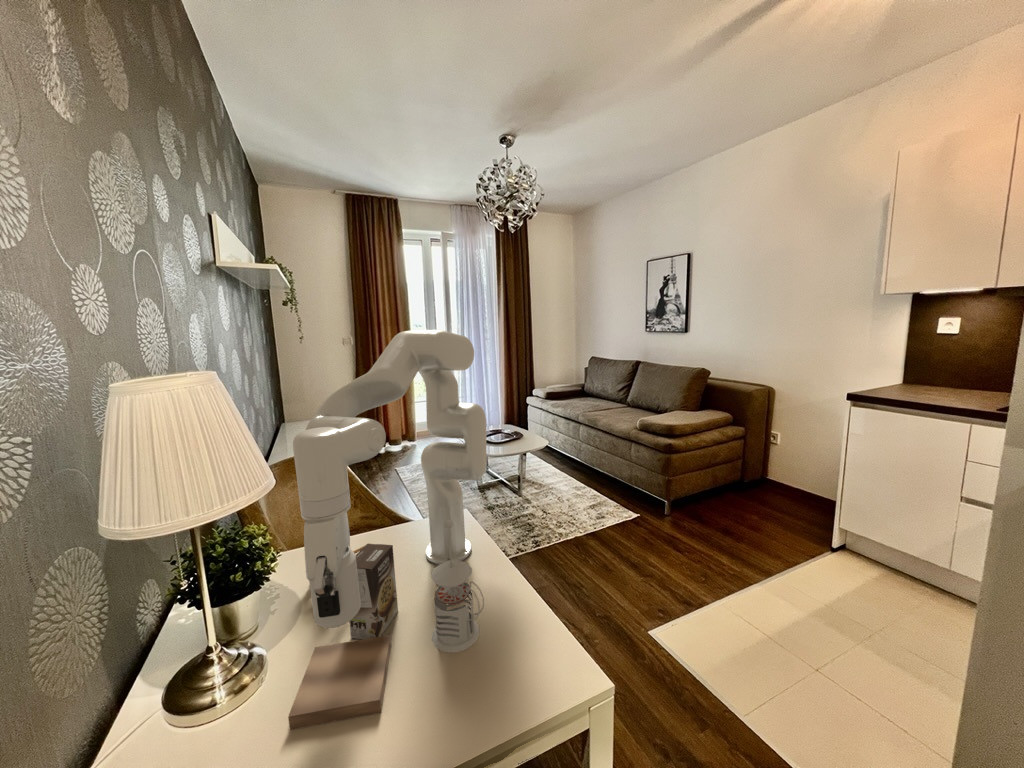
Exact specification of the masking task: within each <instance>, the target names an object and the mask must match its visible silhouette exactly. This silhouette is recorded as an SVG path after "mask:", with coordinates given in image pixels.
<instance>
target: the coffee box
mask: <svg viewBox="0 0 1024 768" xmlns="http://www.w3.org/2000/svg"><path fill="white" fill-rule="evenodd" d="M364 546H365V545H364ZM362 547H363V546H362ZM355 555H356V564H357V573H358V583H359V593H360V603H361V605H360V610H359V611H358V613H357V614H356V615H355V616H354V618H353V619H352V620H351V621H349V622H348V623H349V630H350V631H349V632H350V633H349V634H350V638H352V639H357V640H363V639H369V638H376V637H382V636H383V634H384V633H385V631H386V630H387V628H388V626H389V625H390V624H391V622H392V621H393V619H394V617H395V616H396V615H397V614H398V612H399V606H398V605H399V604H398V594H397V582H396V581H397V580H396V570H395V560H394V559H395V557H394V556H395V555H394V548H393V545H392V544H383V543H382V544H379V543H370V544H369V543H367V544H366V546H365V547H363V548H362V549H361V550H360V551H359V552H357V553H355Z"/></svg>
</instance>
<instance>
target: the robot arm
mask: <svg viewBox="0 0 1024 768" xmlns="http://www.w3.org/2000/svg"><path fill="white" fill-rule="evenodd" d="M474 358H475V349H474V346H473V343H472V341H471V340H470V339H469V338H468V337H466V336H465V335H461V334H459V333H458V334H457V333H453V332H449V331H445V330H439V329H424V330H423V329H421V330H420V329H419V330H405V331H401V332H398V333H397V334H396V335H394V336H393V338H392V339H391V340H390V342H389V343H388V344H387V346H386V347H385V348H384V350H383V351H382V353H381V354H380V355H379V357H378V358H377V360H376V361H375V362H374V364H373V365H372V367H370V369H369V370H368V371H367V372H366V373H365V374H363V375H361V376H359V377H357V378H355V379H354V380H351V382H349V383H347V384H345V385H344V386H342V387H340V388H339V389H337V390H336V391H334V392H333V393H331V394H330V395H328V397H327V398H326V399H325V400H324V401H323V402H322V404H321V405H320V406H319V407H318V408H317V410H316V411H315V412H314V414H313V415H312V417H311V418H310V419H309V422H308V423H307V425H306V427H305V430H303V431H300V432H298V433H297V434H296V435H295V436H294V438H293V440H292V449H293V460H294V466H295V473H296V474H295V475H296V481H297V482H296V483H297V492H298V501H299V508H300V515H301V519H302V520H304V527H303V544H304V546H303V547H304V550H303V551H304V561H305V562H304V564H305V575H306V577H305V578H306V579H307V580H308V581H311V580H313V579H314V584H313V590H314V591H315V593H316V598H317V605H318V613H319V617H320V618H323V617H330V616H336V615H339V614H340V602H339V593H338V591H336V576H337V575H338V574H339V573H340V570H341V566H342V558H343V557H344V556H345V554H346V551H347V546H350V547H351V536H350V535H351V533H350V526H349V525H350V524H349V517H348V511H350V509H351V506H352V505H351V504H352V503H351V497H350V496H351V494H350V484H349V475H348V467H349V466H351V465H353V464H356V463H360V462H364V461H369V460H371V459H372V458H374V457H375V456H376V457H377V455H378V454H379V453H380V452H381V451H382V450H383V448H384V446H385V444H386V440H387V439H386V438H387V437H386V436H387V433H386V431H385V427H384V426H383V424H381V423H380V422H379V421H377V420H376V419H373V418H367V417H357V416H358V415H361V414H362V413H364V412H366V411H368V410H372V409H374V408H377V407H381V406H384V405H388V404H390V403H393V402H396V401H398V400H400V399H401V398H403V397H404V396H405V394H406V393H407V391H408V389H409V388H410V386H411V384H412V382H413V381H414V379H415V378H416V376H417V374H418V373H419V374H420V376H421V378H422V380H423V382H424V386H425V393H426V394H425V395H426V396H425V397H426V400H425V401H426V404H425V405H426V409H425V410H426V428H427V432H428V433H429V434H430V436H432V437H434V438H442V439H455V440H458V439H459V440H464V443H463V442H462V443H461V442H446V441H436V442H432V443H429V444H427V445H426V446H425V447H424V448H423V450H422V452H421V455H420V464H421V469H422V472H423V476H424V479H425V485H426V494H427V509H428V510H427V511H428V521H429V523H428V525H429V534H430V535H429V536H430V543H429V544H428V545H427V547H426V549H425V557H426V559H427V560H428V561H429V562H431V563H433V564H435V565H440V564H442V563H444V562H447V561H451V560H450V544H449V528H445V527H444V523H445V521H446V520H452V521H453V523H454V526H453V527H452V528H450V543H451V559H452V561H455V560H458V561H462V562H463V560H465V559H466V558H468V556H469V555H471V552H472V543H471V542H470V541H469V540H468V539H466V531H465V529H466V528H465V513H464V510H465V509H464V495H463V488H462V486H461V484H460V482H459V481H470V482H471V481H473V482H474V481H478V480H481V479H482V478H483V476H484V475H485V473H486V470H487V469H486V468H487V417H486V413H485V410H484V409H483V407H482V406H481V405H479V403H478V404H477V403H475V402H460V400H459V383H458V380H457V378H456V377H455V375H454V373H453V372H452V371H466V370H468V369H469V368H470V367H471V366H472V364H473V362H474ZM327 569H329V570H330V571H331V572H332V574H327V575H326V570H327ZM314 577H315V578H314ZM328 578H331V587H330V586H329V585H326V583H325V579H328Z"/></svg>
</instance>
